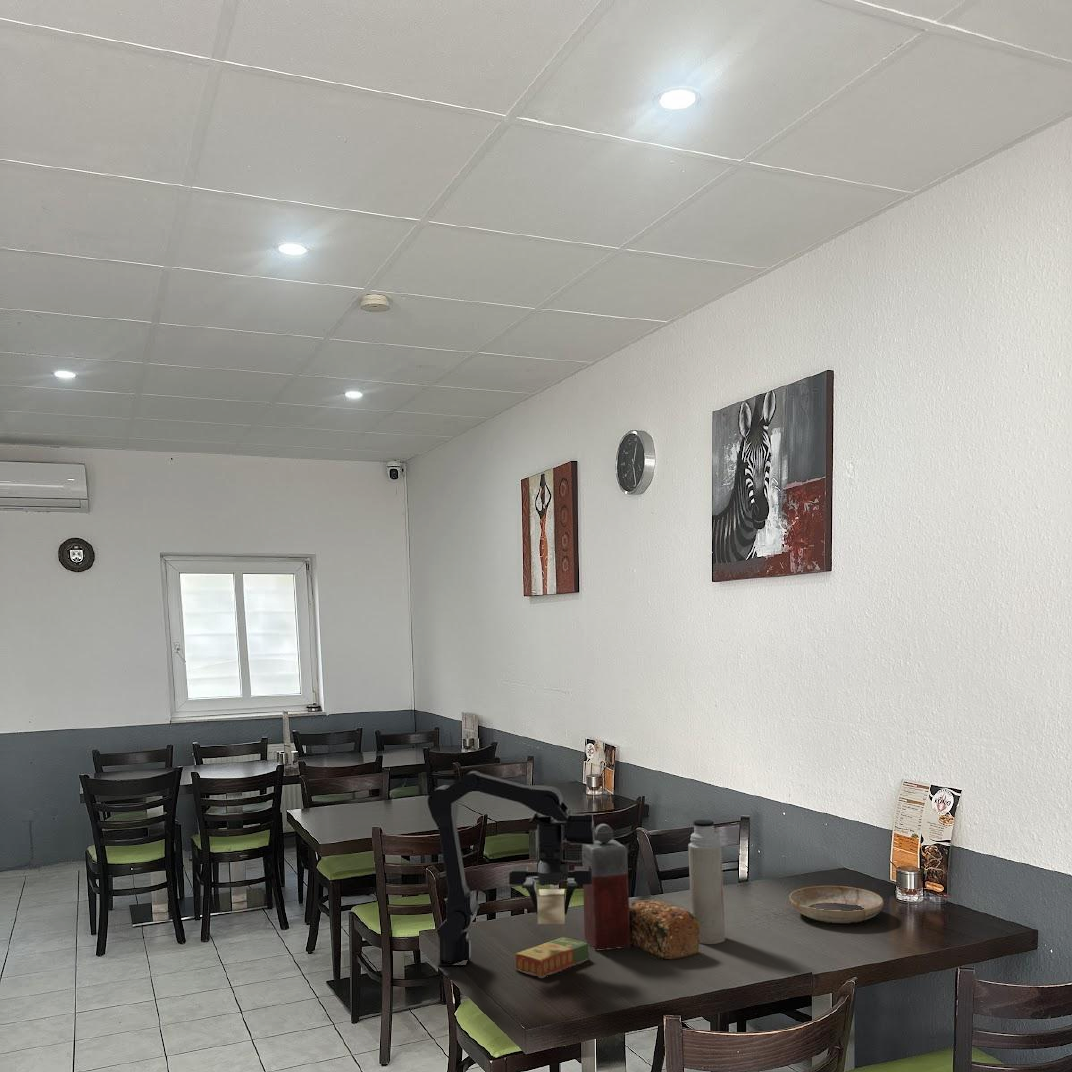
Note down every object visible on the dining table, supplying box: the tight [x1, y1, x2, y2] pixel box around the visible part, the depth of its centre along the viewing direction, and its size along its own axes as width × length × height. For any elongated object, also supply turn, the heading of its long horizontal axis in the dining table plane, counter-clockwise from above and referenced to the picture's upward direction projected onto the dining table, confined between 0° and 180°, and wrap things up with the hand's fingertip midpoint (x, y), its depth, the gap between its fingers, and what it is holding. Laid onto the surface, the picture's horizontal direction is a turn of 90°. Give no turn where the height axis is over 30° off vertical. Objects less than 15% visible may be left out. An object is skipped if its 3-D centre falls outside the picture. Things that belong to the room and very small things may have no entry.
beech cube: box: [537, 888, 566, 925], centre depth 216 cm, size 6×6×6 cm
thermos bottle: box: [688, 819, 726, 945], centre depth 231 cm, size 8×8×28 cm
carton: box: [515, 936, 590, 976], centre depth 214 cm, size 8×16×4 cm, turn 136°
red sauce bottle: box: [581, 823, 631, 950], centre depth 231 cm, size 9×11×28 cm
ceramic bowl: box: [788, 885, 884, 924], centre depth 246 cm, size 23×24×5 cm
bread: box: [629, 899, 701, 960], centre depth 225 cm, size 19×11×10 cm, turn 28°
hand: (551, 914), depth 215 cm, fingers closed on beech cube, 6 cm apart
